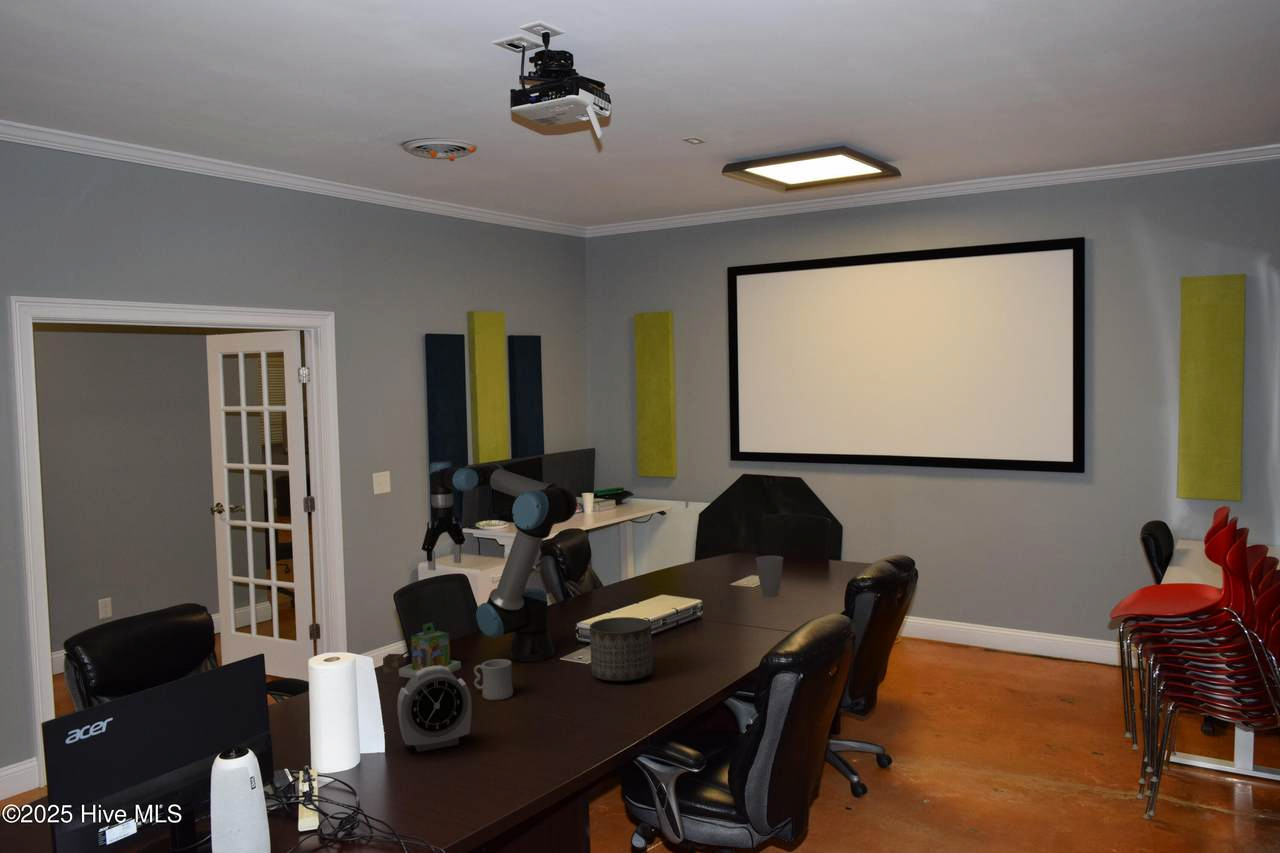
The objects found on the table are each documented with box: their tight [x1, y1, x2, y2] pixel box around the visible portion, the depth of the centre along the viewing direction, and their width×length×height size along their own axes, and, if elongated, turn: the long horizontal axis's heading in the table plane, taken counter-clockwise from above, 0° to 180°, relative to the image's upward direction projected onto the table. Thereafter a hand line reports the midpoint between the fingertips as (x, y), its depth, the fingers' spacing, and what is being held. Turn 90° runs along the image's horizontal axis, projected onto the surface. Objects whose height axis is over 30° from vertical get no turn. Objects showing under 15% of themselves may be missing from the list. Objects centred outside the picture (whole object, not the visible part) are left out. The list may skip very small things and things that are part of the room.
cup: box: [755, 554, 784, 598], centre depth 396 cm, size 12×12×16 cm
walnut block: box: [382, 653, 405, 674], centre depth 305 cm, size 5×5×5 cm
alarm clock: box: [396, 665, 472, 753], centre depth 238 cm, size 18×8×20 cm, turn 114°
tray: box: [398, 659, 462, 679], centre depth 301 cm, size 14×14×2 cm
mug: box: [473, 658, 514, 701], centre depth 275 cm, size 12×9×10 cm
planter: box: [589, 616, 654, 683], centre depth 289 cm, size 19×19×16 cm
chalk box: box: [410, 622, 451, 671], centre depth 301 cm, size 9×9×15 cm
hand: (445, 566), depth 322 cm, fingers open, 13 cm apart
